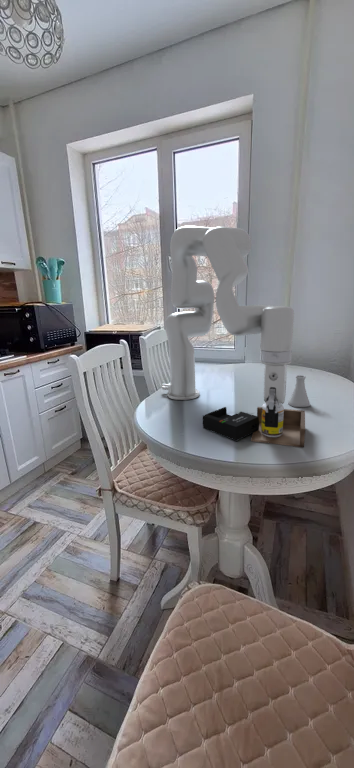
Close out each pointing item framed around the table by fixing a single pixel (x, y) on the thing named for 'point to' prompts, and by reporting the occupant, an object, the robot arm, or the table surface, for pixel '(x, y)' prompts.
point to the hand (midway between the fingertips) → (272, 419)
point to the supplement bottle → (270, 430)
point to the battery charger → (231, 423)
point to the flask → (299, 393)
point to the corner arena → (285, 429)
